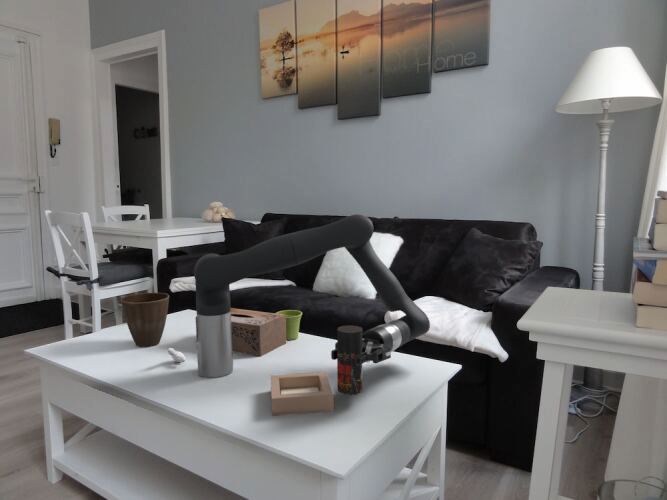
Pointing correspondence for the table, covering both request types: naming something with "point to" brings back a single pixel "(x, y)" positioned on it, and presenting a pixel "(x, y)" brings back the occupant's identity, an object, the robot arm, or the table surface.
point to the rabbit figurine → (176, 355)
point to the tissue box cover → (256, 331)
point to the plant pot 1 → (146, 317)
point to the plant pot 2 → (291, 323)
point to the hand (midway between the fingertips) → (344, 358)
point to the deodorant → (349, 360)
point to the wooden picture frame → (301, 393)
